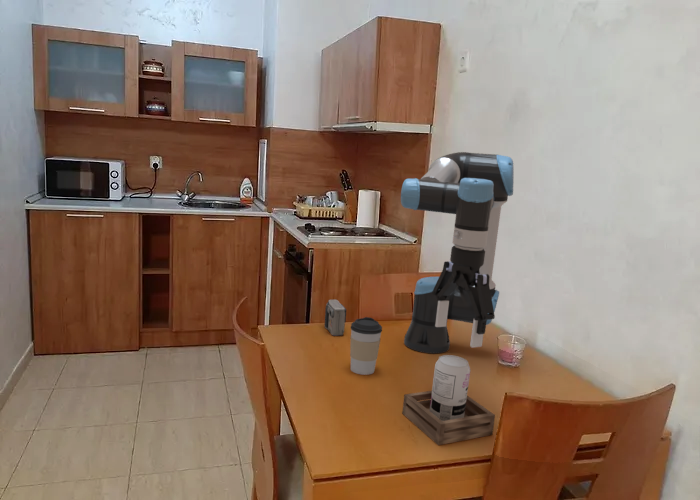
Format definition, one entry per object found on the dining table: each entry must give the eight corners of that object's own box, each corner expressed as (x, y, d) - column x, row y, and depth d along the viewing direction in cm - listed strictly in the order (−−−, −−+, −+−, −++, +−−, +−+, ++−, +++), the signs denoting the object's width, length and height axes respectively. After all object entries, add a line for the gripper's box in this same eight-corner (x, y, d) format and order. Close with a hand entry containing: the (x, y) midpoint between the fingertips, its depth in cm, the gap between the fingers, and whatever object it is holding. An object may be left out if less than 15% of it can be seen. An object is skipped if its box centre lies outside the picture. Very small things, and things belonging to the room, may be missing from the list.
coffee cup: (375, 378, 157) (380, 327, 155) (343, 373, 159) (348, 322, 156) (380, 366, 166) (384, 318, 163) (350, 361, 168) (354, 314, 165)
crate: (453, 405, 145) (455, 387, 144) (492, 434, 131) (495, 414, 130) (402, 413, 138) (404, 394, 137) (438, 445, 124) (440, 424, 124)
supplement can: (425, 410, 138) (432, 353, 135) (457, 411, 139) (465, 355, 136) (433, 427, 130) (440, 366, 128) (467, 428, 131) (475, 368, 128)
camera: (323, 325, 199) (325, 298, 197) (338, 325, 200) (341, 298, 199) (329, 336, 188) (331, 308, 186) (346, 336, 190) (348, 308, 188)
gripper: (424, 236, 136) (415, 319, 140) (491, 259, 114) (478, 357, 118) (449, 236, 139) (439, 317, 143) (520, 259, 117) (506, 354, 122)
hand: (457, 336), depth 131 cm, fingers open, 13 cm apart
